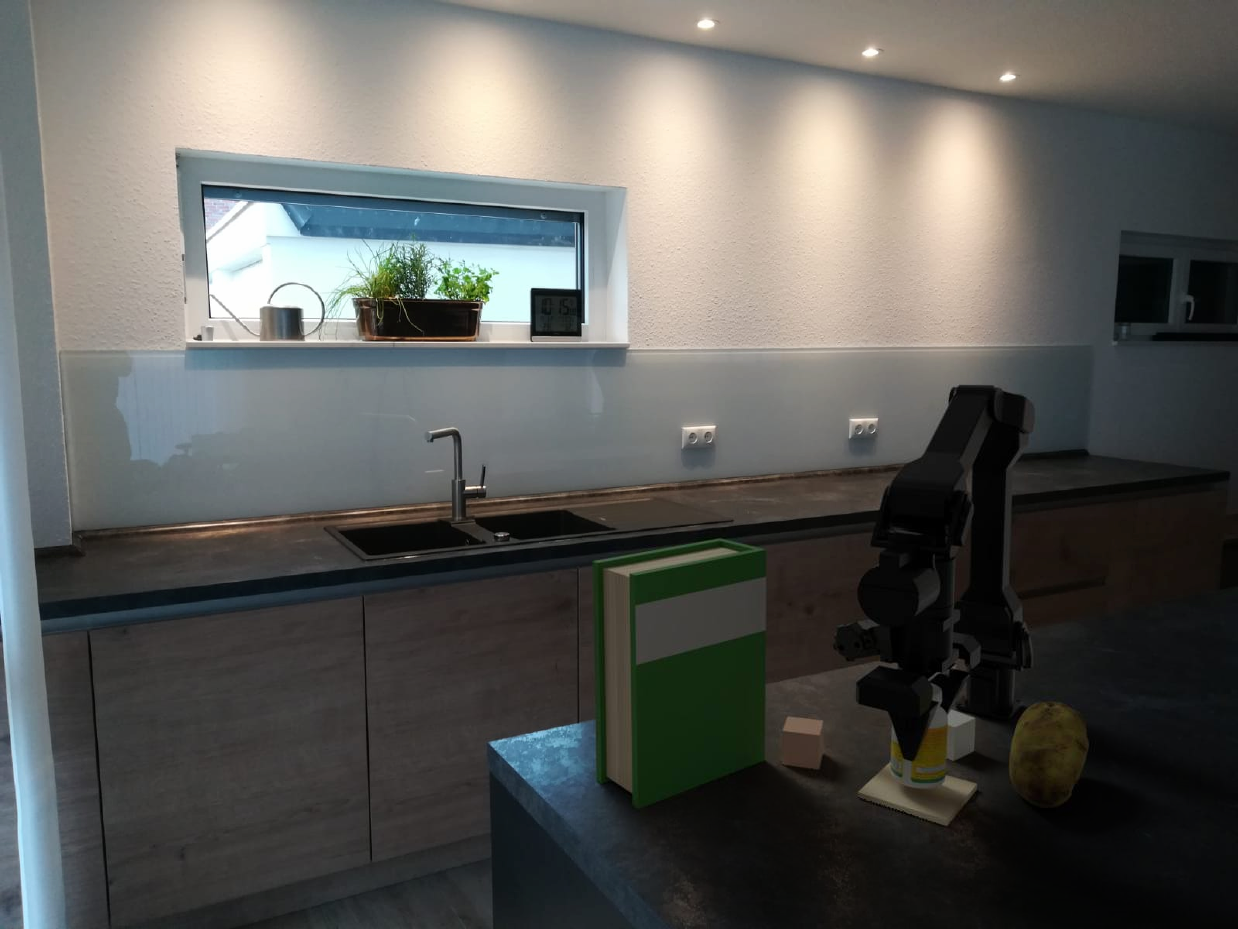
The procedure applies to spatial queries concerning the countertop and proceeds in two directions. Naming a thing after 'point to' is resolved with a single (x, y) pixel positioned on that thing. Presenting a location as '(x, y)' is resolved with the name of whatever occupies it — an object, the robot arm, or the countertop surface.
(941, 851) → the countertop surface
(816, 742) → the terracotta block
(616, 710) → the hardback book
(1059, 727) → the potato
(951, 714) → the grey block
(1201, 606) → the countertop surface
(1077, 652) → the countertop surface
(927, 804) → the coaster
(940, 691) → the supplement bottle
